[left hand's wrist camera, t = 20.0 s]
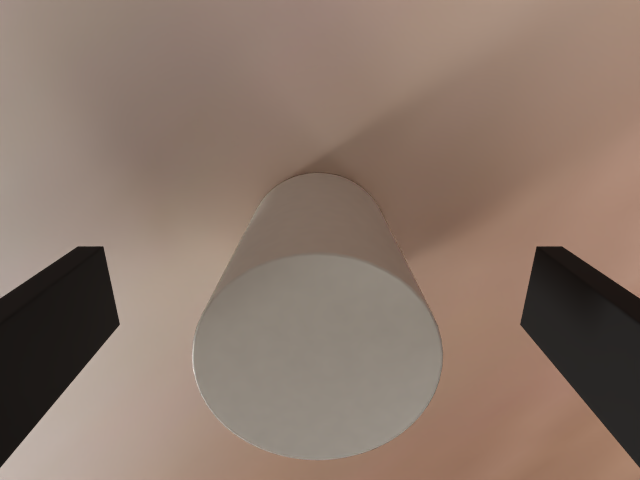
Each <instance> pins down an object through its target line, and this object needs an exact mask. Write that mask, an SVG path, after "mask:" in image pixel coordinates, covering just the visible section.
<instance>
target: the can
mask: <svg viewBox="0 0 640 480" xmlns="http://www.w3.org/2000/svg"><path fill="white" fill-rule="evenodd" d="M442 361H443V349H442V340H441V336H440V332H439V329H438V325H437V323H436V321H435V319H434V316H433V314H432V312H431V310H430V308H429V306H428V304H427V302H426V300H425V298H424V296H423V294H422V292H421V290H420V288H419V286H418V284H417V282H416V280H415V278H414V276H413V274H412V272H411V270H410V268H409V266H408V264H407V262H406V260H405V258H404V256H403V254H402V252H401V250H400V248H399V246H398V244H397V242H396V240H395V238H394V236H393V234H392V232H391V230H390V228H389V226H388V224H387V222H386V220H385V218H384V216H383V214H382V212H381V210H380V208H379V206H378V205H377V203H376V202H375V200H374V199H373V198H372V197H371V196H370V194H369V193H368V192H366V191H365V190H364V189H363V188H362V187H361V186H359V185H358V184H356V183H355V182H353V181H351V180H349V179H347V178H344V177H341V176H338V175H334V174H329V173H308V174H303V175H298V176H295V177H293V178H290V179H288V180H286V181H284V182H282V183H280V184H279V185H277V186H276V187H274V188H273V189H272V190H271V191H270V192H269V193H268V194H267V195H266V196H265V197H264V198H263V200H262V201H261V203H260V204H259V206H258V207H257V209H256V211H255V213H254V215H253V217H252V219H251V221H250V223H249V225H248V226H247V228H246V230H245V232H244V234H243V236H242V238H241V240H240V242H239V244H238V246H237V248H236V250H235V252H234V254H233V255H232V257H231V259H230V261H229V263H228V265H227V267H226V269H225V271H224V273H223V275H222V277H221V279H220V281H219V283H218V284H217V286H216V288H215V290H214V292H213V294H212V296H211V298H210V300H209V302H208V304H207V306H206V308H205V310H204V312H203V314H202V316H201V318H200V320H199V323H198V325H197V328H196V331H195V335H194V339H193V348H192V363H193V371H194V375H195V380H196V383H197V386H198V388H199V391H200V394H201V396H202V397H203V399H204V401H205V403H206V404H207V406H208V408H209V409H210V410H211V411H212V413H213V414H214V415H215V417H216V418H217V419H218V420H219V421H220V422H221V423H222V424H223V425H224V426H225V427H226V428H228V429H229V430H230V431H231V432H233V433H234V434H235V435H236V436H238V437H240V438H241V439H243V440H244V441H246V442H248V443H250V444H252V445H254V446H256V447H258V448H260V449H262V450H265V451H268V452H271V453H274V454H277V455H281V456H285V457H290V458H297V459H304V460H330V459H338V458H345V457H350V456H354V455H358V454H362V453H364V452H367V451H370V450H373V449H375V448H377V447H379V446H381V445H383V444H385V443H387V442H389V441H391V440H392V439H394V438H395V437H397V436H398V435H400V434H401V433H402V432H404V431H405V430H406V429H407V428H409V427H410V426H411V425H412V424H413V423H414V422H415V421H416V420H417V419H418V418H419V417H420V415H421V414H422V413H423V411H424V410H425V409H426V407H427V406H428V404H429V403H430V401H431V399H432V397H433V395H434V393H435V391H436V388H437V385H438V383H439V380H440V375H441V370H442Z"/></svg>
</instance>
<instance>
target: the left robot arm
mask: <svg viewBox="0 0 640 480" xmlns="http://www.w3.org/2000/svg"><path fill="white" fill-rule="evenodd" d="M119 325H120V323H119V319H118V314H117V309H116V304H115V300H114V295H113V290H112V285H111V281H110V276H109V271H108V267H107V262H106V257H105V252H104V248H103V247H77V248H75V249H74V250H72V251H71V252H69V253H68V254H66V255H65V256H63V257H62V258H60V259H59V260H57V261H56V262H54V263H53V264H51V265H50V266H48V267H47V268H45V269H44V270H42V271H41V272H39V273H38V274H36V275H35V276H33V277H32V278H30V279H29V280H27V281H26V282H24V283H23V284H21V285H20V286H18V287H17V288H15V289H14V290H12V291H11V292H9V293H8V294H6V295H5V296H3V297H2V298H0V467H1V466H2V465H3V464H4V463H5V461H6V460H7V459H8V458H9V457H10V455H11V454H12V453H13V452H14V451H15V449H16V448H17V447H18V446H19V445H20V443H21V442H22V441H23V440H24V439H25V437H26V436H27V435H28V434H29V433H30V431H31V430H32V429H33V428H34V427H35V425H36V424H37V423H38V422H39V421H40V419H41V418H42V417H43V416H44V415H45V413H46V412H47V411H48V410H49V409H50V407H51V406H52V405H53V404H54V403H55V401H56V400H57V399H58V398H59V397H60V395H61V394H62V393H63V392H64V391H65V389H66V388H67V387H68V386H69V385H70V383H71V382H72V381H73V380H74V379H75V378H76V376H77V375H78V374H79V373H80V372H81V370H82V369H83V368H84V367H85V366H86V364H87V363H88V362H89V361H90V360H91V358H92V357H93V356H94V355H95V354H96V352H97V351H98V350H99V349H100V348H101V346H102V345H103V344H104V343H105V342H106V340H107V339H108V338H109V337H110V336H111V334H112V333H113V332H114V331H115V330H116V328H117V327H118V326H119ZM520 325H521V326H522V327H523V328H524V330H525V331H526V332H527V333H528V334H529V336H530V337H531V338H532V339H533V340H534V342H535V343H536V344H537V345H538V346H539V348H540V349H541V350H542V351H543V352H544V354H545V355H546V356H547V357H548V358H549V360H550V361H551V362H552V363H553V364H554V366H555V367H556V368H557V369H558V370H559V372H560V373H561V374H562V375H563V376H564V378H565V379H566V380H567V381H568V382H569V383H570V385H571V386H572V387H573V388H574V389H575V391H576V392H577V393H578V394H579V395H580V397H581V398H582V399H583V400H584V401H585V403H586V404H587V405H588V406H589V407H590V409H591V410H592V411H593V412H594V413H595V415H596V416H597V417H598V418H599V419H600V421H601V422H602V423H603V424H604V425H605V427H606V428H607V429H608V430H609V431H610V433H611V434H612V435H613V436H614V437H615V439H616V440H617V441H618V442H619V443H620V445H621V446H622V447H623V448H624V449H625V451H626V452H627V453H628V454H629V455H630V457H631V458H632V459H633V460H634V461H635V463H636V464H637V465H638V466H639V467H640V298H638V297H637V296H635V295H634V294H632V293H631V292H629V291H628V290H626V289H625V288H623V287H622V286H620V285H619V284H617V283H616V282H614V281H613V280H611V279H610V278H608V277H607V276H605V275H604V274H602V273H601V272H599V271H598V270H596V269H595V268H593V267H592V266H590V265H589V264H587V263H586V262H584V261H583V260H581V259H580V258H578V257H577V256H575V255H574V254H572V253H571V252H569V251H568V250H566V249H565V248H563V247H537V248H536V252H535V257H534V262H533V266H532V271H531V276H530V281H529V285H528V290H527V295H526V300H525V304H524V309H523V314H522V319H521V323H520Z"/></svg>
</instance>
